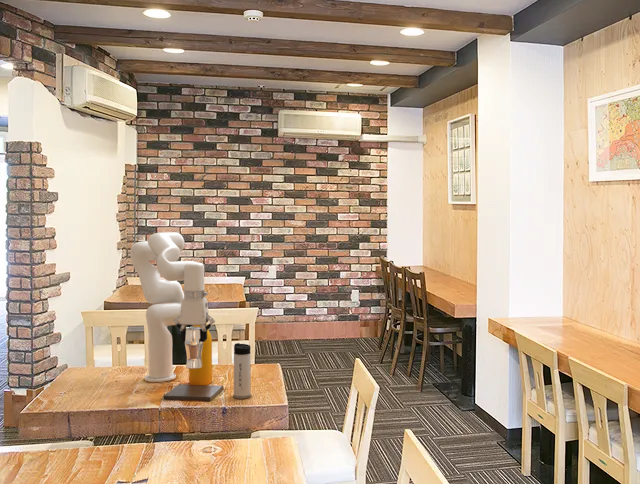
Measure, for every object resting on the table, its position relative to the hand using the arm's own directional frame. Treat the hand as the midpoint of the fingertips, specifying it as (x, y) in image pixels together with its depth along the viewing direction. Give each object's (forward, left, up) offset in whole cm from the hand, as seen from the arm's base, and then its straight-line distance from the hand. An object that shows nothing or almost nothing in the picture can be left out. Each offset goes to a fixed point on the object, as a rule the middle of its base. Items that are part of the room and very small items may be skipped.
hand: (194, 340), depth 245 cm
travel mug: (+1, +19, -21) cm, 28 cm away
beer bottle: (-16, -3, -21) cm, 27 cm away
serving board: (0, 0, -21) cm, 21 cm away
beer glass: (0, 0, -10) cm, 10 cm away
